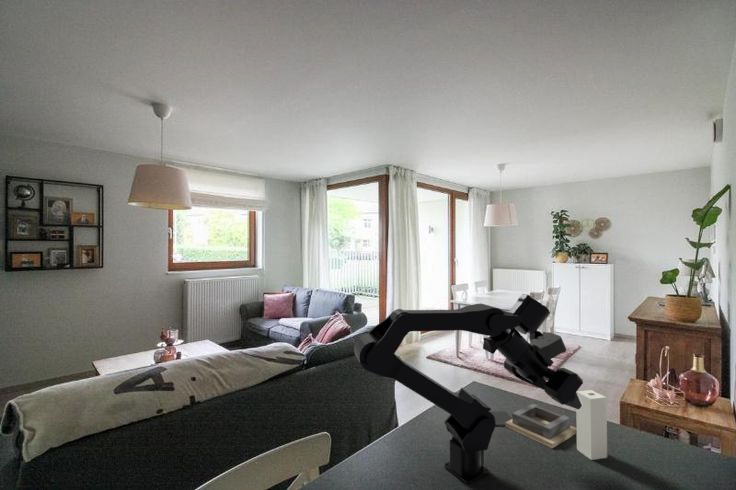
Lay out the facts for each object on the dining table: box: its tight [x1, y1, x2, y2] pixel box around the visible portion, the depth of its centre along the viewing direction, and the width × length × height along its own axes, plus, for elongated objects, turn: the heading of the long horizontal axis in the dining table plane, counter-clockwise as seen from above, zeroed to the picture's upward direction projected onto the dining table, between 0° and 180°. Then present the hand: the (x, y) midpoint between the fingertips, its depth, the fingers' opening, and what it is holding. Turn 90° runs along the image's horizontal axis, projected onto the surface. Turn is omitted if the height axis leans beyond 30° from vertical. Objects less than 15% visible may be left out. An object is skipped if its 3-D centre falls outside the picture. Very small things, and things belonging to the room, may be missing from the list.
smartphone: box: [489, 410, 512, 427], centre depth 93 cm, size 7×1×15 cm
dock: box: [504, 403, 577, 449], centre depth 88 cm, size 12×12×4 cm
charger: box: [575, 389, 608, 461], centre depth 78 cm, size 4×4×13 cm
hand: (563, 397), depth 76 cm, fingers open, 9 cm apart
